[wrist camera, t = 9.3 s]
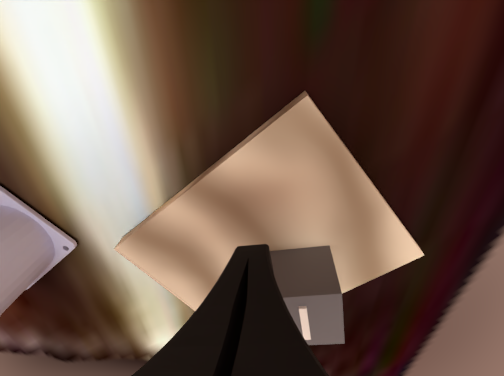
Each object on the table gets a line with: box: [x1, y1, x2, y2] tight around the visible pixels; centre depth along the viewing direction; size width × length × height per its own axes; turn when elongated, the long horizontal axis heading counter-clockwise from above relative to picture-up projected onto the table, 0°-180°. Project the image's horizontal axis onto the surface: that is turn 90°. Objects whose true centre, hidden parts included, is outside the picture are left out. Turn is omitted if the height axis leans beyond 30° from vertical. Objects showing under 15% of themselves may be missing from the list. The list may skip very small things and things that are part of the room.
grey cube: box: [270, 245, 344, 345], centre depth 21 cm, size 5×5×5 cm
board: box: [114, 91, 424, 311], centre depth 23 cm, size 19×15×2 cm
